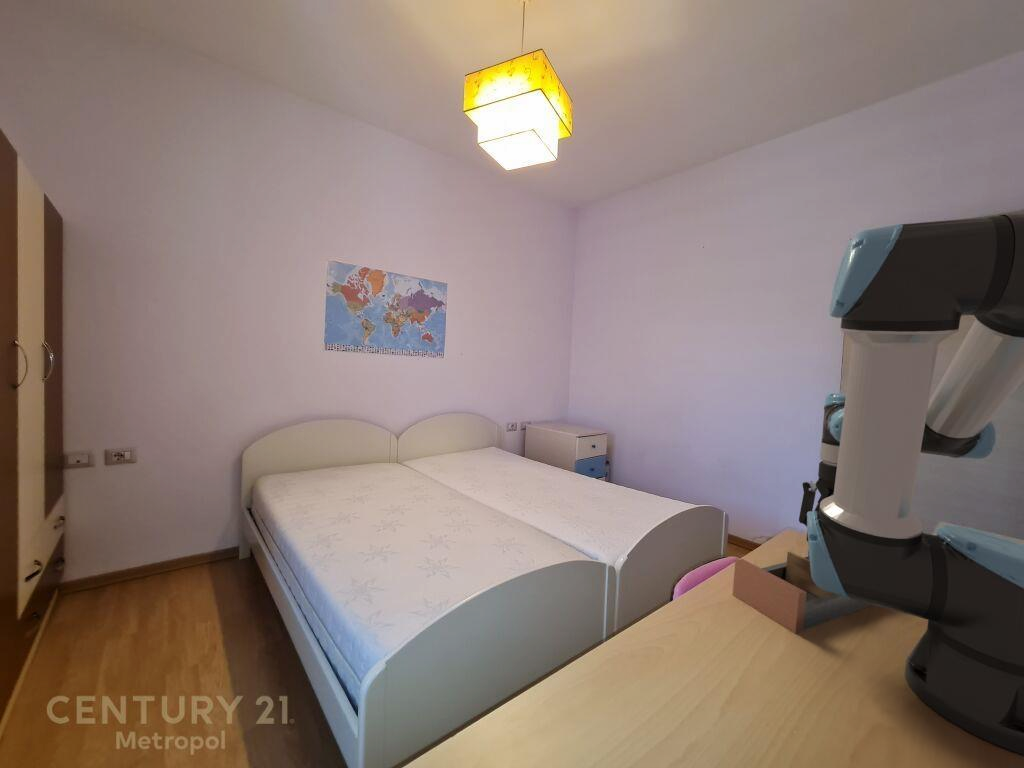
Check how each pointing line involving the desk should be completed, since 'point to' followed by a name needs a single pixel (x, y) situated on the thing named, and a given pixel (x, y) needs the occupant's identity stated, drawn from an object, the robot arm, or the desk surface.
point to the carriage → (802, 574)
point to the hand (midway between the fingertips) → (830, 564)
